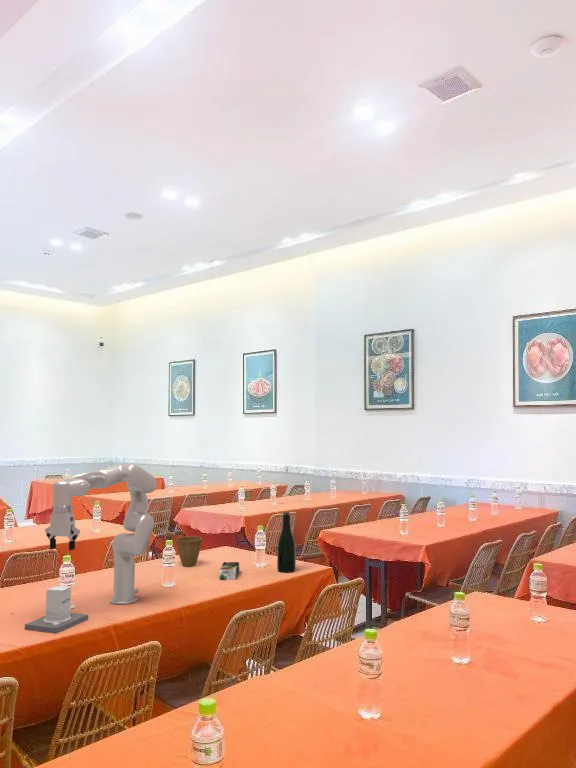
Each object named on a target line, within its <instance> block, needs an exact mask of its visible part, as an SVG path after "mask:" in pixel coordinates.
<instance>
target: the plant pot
mask: <svg viewBox="0 0 576 768" xmlns="http://www.w3.org/2000/svg"><path fill="white" fill-rule="evenodd" d="M201 546H202V537H200V536H192V535H191V536H181V537H177V538H176V547H177V551H178V555H179V559H180V562H181V565H182V566H183V567H185V568H192V567H195V566H196V565H197V562H198V559H199V556H200V551H201Z"/></svg>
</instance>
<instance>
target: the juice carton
mask: <svg viewBox="0 0 576 768" xmlns="http://www.w3.org/2000/svg"><path fill="white" fill-rule="evenodd" d="M239 572H240V562H239V561H228V562H227V561H223V562H222V564H221V566H220V568H219V570H218V574H219V575H218V579H219V581H221V580H227V581H229V580H233V581H236V580H237V578H238V575H239Z"/></svg>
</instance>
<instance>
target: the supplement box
mask: <svg viewBox="0 0 576 768" xmlns="http://www.w3.org/2000/svg"><path fill="white" fill-rule="evenodd" d="M71 593H72V586H69V585H68V586H67V585H55V586H53V587H50V588H47V589H46V594H45V595H46V596H45V616H46V620H52V621H62V620H63V619H65V618H67V617H69V616H70V613H71Z"/></svg>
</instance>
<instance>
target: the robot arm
mask: <svg viewBox="0 0 576 768" xmlns="http://www.w3.org/2000/svg"><path fill="white" fill-rule="evenodd" d="M123 482H126V487H127V490H128V492H129V494H130V503H129V506H128V509H127V510H126V514H125V517H124V519H123V523H122V526H123V529H124V530H125V531H127V532H132V533H126V532H122V533H119V534H117V535H116V536H114V538H113V539H112V545H111V546H112V553H113V566H114V567H113V596H112V597H111V598H110V601H109V602H110V603H111V604H114V605H128V604H134V603H135V602H137V601H138V598H139V597H138V596H136V594H138V593H139V591H140V589H139V588H135V568H136V565H135V563H136V562H135V557H140V556H141V555H143V554H144V553H145V552H146V550H147V548H148V545H149V542H150V540H151V536H152V534H153V531H154V527H155V520H154V518H153V516H152V515H151V514H149V513H147V510H148V506H149V499H148V494H151V493H153V492H154V491H155V490H156V488H157V487H158V481H157V479H156V478H155V476H153V475H152V474H151V473H149V472H148V471H146V470H145V469H144V468H142V467H141V466H140V465H138V464H135V463H119V464H115V465H113V466H109V467H105V468H102V469H100V470H99V469H98V470H95V471H89V472H86V473H85V472H84V473H80V474H76V475H73V476H70V477H67V478H64V480H58V481H55V482H54V483H53V485H52V513H51V517H50V524H49V525H50V526H48V527H47V528H45V529H44V532H45V535H46V537H47V539H48V541H49V549H50V550H55V549H57V539H56V537H67V538H68V540H69V541H68V551H73V550H75V549H76V548H75V547H76V541H77V538H78V537H79V536H80V533H81V530H80V529H78V528H77V527H76V521H75V515H74V512H73V510H74V507H73V506H72V497H83V496H86V495H87V494H88V493H89V492H90V490H93V489H104V488H105V489H106V488H108V487H112V486H114V485H116V484H120V483H123Z"/></svg>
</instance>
